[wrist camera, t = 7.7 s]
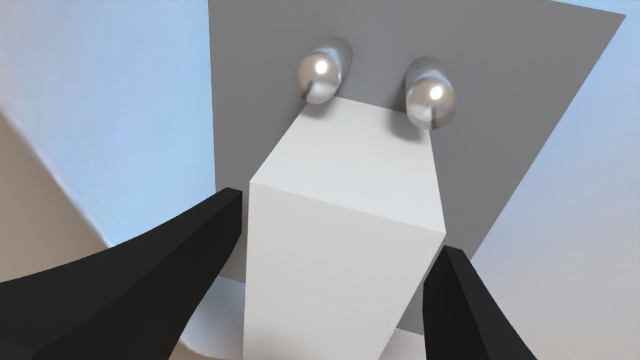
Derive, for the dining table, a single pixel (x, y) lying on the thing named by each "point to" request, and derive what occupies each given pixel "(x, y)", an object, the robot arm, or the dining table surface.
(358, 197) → the block
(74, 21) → the dining table surface
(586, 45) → the pin tray
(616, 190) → the dining table surface
